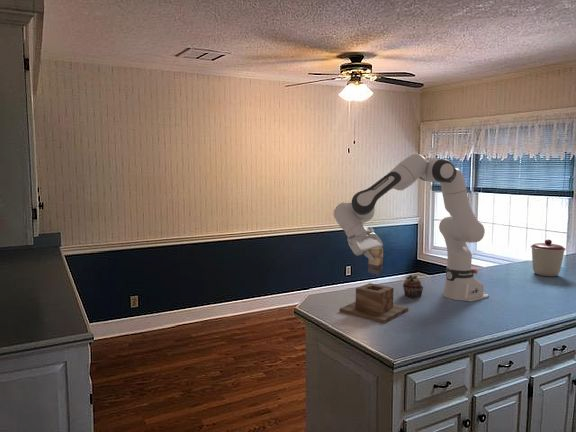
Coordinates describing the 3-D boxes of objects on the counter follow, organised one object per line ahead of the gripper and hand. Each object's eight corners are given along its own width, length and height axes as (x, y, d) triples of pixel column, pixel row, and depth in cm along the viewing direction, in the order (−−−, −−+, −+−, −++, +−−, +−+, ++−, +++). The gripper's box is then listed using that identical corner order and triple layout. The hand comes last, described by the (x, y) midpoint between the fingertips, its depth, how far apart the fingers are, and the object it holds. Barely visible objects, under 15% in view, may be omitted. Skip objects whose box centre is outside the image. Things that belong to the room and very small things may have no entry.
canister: (564, 273, 277) (566, 238, 274) (563, 280, 262) (566, 243, 259) (530, 269, 287) (532, 236, 284) (527, 275, 271) (529, 240, 269)
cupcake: (422, 299, 222) (423, 279, 221) (401, 297, 226) (402, 277, 224) (423, 294, 231) (424, 274, 230) (403, 292, 235) (404, 273, 233)
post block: (365, 300, 220) (365, 279, 219) (408, 310, 206) (409, 287, 205) (339, 311, 203) (339, 288, 202) (384, 323, 189) (385, 298, 188)
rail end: (373, 271, 206) (374, 246, 204) (382, 272, 203) (383, 248, 201) (368, 272, 202) (369, 248, 201) (377, 274, 199) (378, 249, 198)
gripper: (350, 232, 197) (369, 258, 192) (374, 227, 212) (392, 251, 207) (341, 241, 200) (359, 267, 195) (365, 236, 216) (383, 259, 211)
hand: (377, 259), depth 201 cm, fingers closed on rail end, 4 cm apart
